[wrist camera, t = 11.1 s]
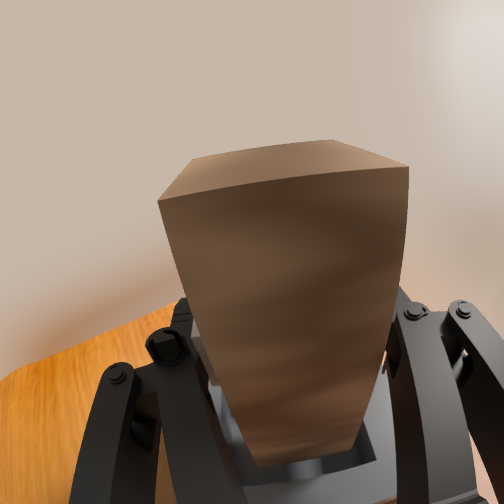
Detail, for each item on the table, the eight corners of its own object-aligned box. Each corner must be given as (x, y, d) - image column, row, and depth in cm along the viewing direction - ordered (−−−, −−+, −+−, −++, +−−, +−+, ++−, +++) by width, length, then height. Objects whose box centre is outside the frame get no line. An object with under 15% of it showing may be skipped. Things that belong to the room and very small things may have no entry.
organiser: (200, 530, 10) (175, 524, 8) (204, 385, 22) (188, 351, 20) (404, 495, 10) (431, 479, 8) (355, 361, 22) (361, 324, 20)
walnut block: (257, 467, 11) (157, 200, 5) (251, 396, 16) (193, 158, 9) (350, 449, 11) (408, 166, 5) (330, 382, 16) (331, 139, 9)
